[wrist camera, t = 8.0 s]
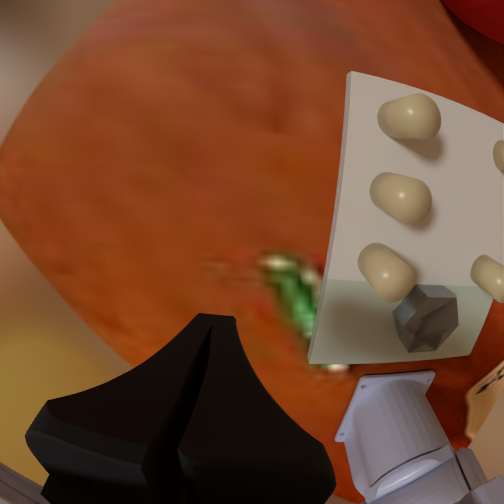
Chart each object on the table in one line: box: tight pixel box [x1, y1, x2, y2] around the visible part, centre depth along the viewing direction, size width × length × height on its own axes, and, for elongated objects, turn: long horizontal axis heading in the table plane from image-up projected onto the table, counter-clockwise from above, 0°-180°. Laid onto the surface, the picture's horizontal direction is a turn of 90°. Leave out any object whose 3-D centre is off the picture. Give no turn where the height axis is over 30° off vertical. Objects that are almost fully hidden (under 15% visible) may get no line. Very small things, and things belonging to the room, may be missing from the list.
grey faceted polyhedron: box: [393, 284, 459, 353], centre depth 19 cm, size 5×4×2 cm
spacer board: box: [307, 71, 504, 364], centre depth 17 cm, size 20×16×4 cm
